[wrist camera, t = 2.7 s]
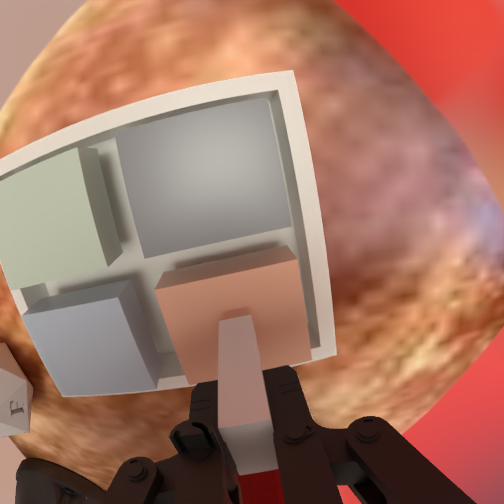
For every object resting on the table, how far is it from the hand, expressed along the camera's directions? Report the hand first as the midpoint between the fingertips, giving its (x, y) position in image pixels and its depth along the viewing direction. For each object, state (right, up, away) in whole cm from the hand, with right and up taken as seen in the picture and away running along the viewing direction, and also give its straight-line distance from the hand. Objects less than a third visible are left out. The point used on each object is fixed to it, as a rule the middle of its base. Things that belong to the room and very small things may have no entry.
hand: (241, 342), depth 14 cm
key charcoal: (-2, +8, +2) cm, 9 cm away
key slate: (-9, -1, +3) cm, 10 cm away
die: (-23, -7, +8) cm, 25 cm away
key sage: (-11, +6, +1) cm, 12 cm away
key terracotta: (0, +1, +4) cm, 4 cm away
